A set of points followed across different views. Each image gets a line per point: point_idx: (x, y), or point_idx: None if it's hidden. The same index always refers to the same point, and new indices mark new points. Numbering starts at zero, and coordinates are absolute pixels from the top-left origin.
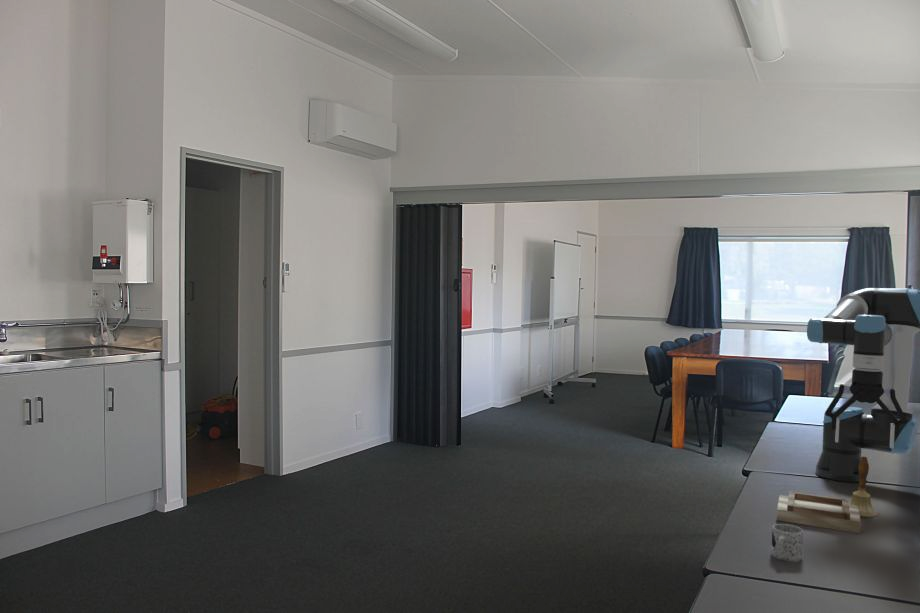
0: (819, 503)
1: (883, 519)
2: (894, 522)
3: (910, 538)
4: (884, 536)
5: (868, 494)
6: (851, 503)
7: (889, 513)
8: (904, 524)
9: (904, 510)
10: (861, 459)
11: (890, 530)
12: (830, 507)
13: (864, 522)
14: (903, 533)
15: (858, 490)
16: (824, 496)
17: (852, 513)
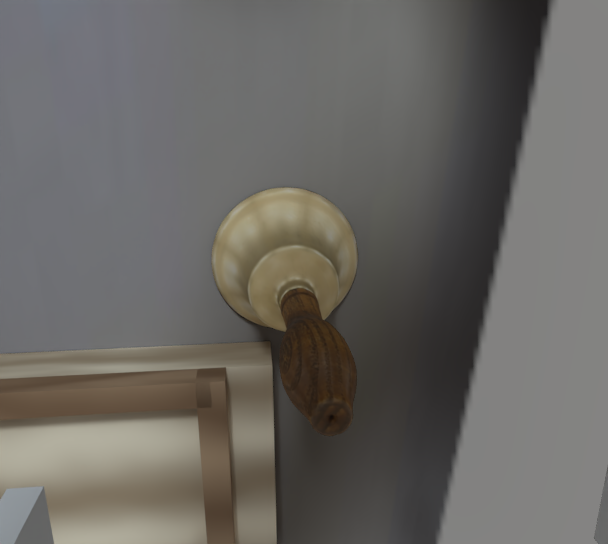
0: (96, 424)
1: (376, 317)
2: (416, 336)
3: (440, 501)
4: (355, 528)
5: (329, 299)
6: (243, 296)
7: (416, 199)
8: (452, 341)
9: (497, 96)
10: (305, 415)
11: (385, 450)
12: (151, 458)
13: None
14: (426, 459)
15: (278, 303)
16: (107, 395)
17: (247, 493)
